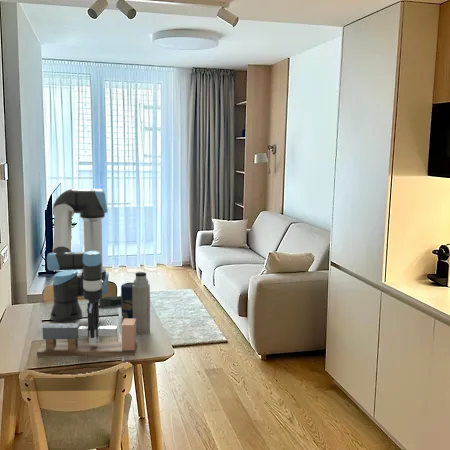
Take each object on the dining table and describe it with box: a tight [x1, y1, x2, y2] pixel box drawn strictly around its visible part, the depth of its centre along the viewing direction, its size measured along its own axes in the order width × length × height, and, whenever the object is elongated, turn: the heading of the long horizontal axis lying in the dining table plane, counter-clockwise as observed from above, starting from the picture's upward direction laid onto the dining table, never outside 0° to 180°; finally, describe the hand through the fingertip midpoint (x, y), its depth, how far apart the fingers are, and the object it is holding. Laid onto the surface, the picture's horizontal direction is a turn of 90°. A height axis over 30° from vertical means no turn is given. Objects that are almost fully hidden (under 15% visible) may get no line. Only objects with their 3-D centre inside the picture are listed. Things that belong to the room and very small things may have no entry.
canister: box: [120, 282, 134, 319], centre depth 258 cm, size 10×10×18 cm
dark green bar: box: [99, 295, 121, 308], centre depth 276 cm, size 5×3×15 cm
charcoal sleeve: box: [42, 322, 81, 340], centre depth 215 cm, size 5×14×5 cm, turn 94°
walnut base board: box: [36, 338, 139, 358], centre depth 216 cm, size 10×40×6 cm, turn 94°
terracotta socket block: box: [121, 318, 137, 350], centre depth 217 cm, size 8×5×11 cm, turn 4°
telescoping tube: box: [77, 325, 118, 338], centre depth 215 cm, size 4×30×4 cm, turn 94°
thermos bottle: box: [132, 271, 151, 335], centre depth 239 cm, size 8×8×28 cm
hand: (94, 342), depth 216 cm, fingers closed on telescoping tube, 4 cm apart
